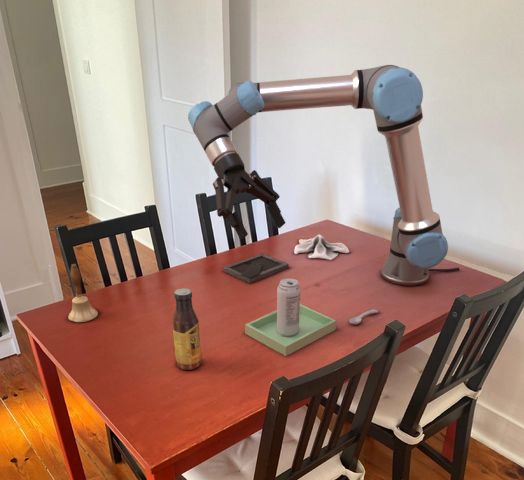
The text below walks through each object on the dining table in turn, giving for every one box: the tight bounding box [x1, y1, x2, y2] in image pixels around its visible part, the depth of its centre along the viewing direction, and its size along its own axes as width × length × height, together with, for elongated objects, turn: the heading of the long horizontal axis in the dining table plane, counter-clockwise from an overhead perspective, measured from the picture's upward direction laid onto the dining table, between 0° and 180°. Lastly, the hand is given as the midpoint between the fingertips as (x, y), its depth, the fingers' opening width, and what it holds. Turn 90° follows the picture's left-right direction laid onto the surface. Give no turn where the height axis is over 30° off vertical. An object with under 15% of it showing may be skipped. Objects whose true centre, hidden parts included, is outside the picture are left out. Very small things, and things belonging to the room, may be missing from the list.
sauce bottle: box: [172, 287, 202, 371], centre depth 127 cm, size 6×6×20 cm
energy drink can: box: [276, 277, 301, 337], centre depth 140 cm, size 6×6×15 cm
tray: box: [244, 303, 337, 357], centre depth 145 cm, size 20×16×3 cm
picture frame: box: [222, 252, 289, 284], centre depth 181 cm, size 13×2×18 cm
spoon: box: [348, 308, 379, 326], centre depth 151 cm, size 3×12×2 cm, turn 134°
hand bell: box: [67, 263, 99, 323], centre depth 150 cm, size 8×8×16 cm
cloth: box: [293, 233, 351, 261], centre depth 195 cm, size 22×19×6 cm
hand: (263, 231), depth 137 cm, fingers open, 13 cm apart
